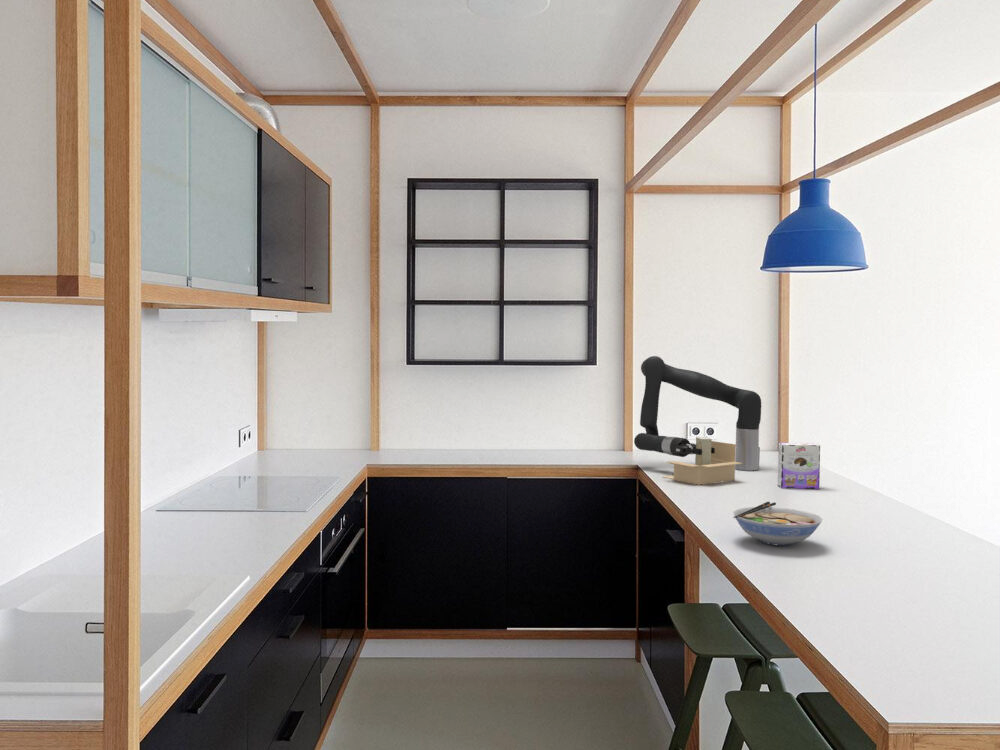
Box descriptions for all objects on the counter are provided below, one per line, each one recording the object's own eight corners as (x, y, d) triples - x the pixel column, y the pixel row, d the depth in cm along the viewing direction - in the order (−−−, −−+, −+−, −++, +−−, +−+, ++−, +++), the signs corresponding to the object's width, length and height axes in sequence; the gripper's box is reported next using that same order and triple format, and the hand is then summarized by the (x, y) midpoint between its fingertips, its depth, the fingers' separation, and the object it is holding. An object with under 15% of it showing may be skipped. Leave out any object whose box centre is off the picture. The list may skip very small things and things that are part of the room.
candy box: (815, 486, 305) (816, 442, 304) (819, 489, 299) (821, 445, 298) (777, 485, 306) (778, 441, 306) (780, 488, 300) (782, 443, 300)
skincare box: (694, 467, 320) (695, 436, 319) (705, 467, 320) (706, 436, 319) (700, 470, 313) (700, 438, 313) (711, 470, 314) (711, 438, 313)
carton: (696, 473, 332) (697, 438, 332) (742, 481, 313) (743, 445, 312) (654, 478, 319) (654, 442, 318) (699, 487, 299) (700, 449, 299)
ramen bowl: (800, 559, 202) (801, 526, 202) (715, 543, 218) (715, 512, 217) (836, 541, 221) (837, 511, 221) (755, 527, 236) (756, 499, 236)
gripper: (663, 438, 324) (695, 443, 310) (688, 435, 332) (720, 440, 318) (662, 457, 324) (695, 462, 311) (688, 454, 332) (720, 459, 319)
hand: (707, 451), depth 315 cm, fingers closed on skincare box, 6 cm apart
